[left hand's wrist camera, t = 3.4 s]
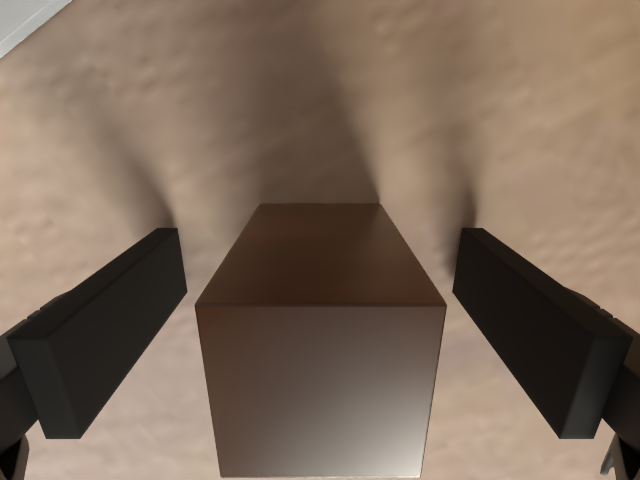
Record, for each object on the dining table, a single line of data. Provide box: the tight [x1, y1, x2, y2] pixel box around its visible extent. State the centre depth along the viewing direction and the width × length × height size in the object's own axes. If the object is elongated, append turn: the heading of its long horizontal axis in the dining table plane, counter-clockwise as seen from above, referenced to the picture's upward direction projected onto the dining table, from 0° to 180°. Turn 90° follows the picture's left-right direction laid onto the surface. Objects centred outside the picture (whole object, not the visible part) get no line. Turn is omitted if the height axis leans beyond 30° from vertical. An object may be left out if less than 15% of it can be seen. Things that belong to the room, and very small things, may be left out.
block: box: [195, 204, 447, 478], centre depth 10 cm, size 4×4×7 cm
